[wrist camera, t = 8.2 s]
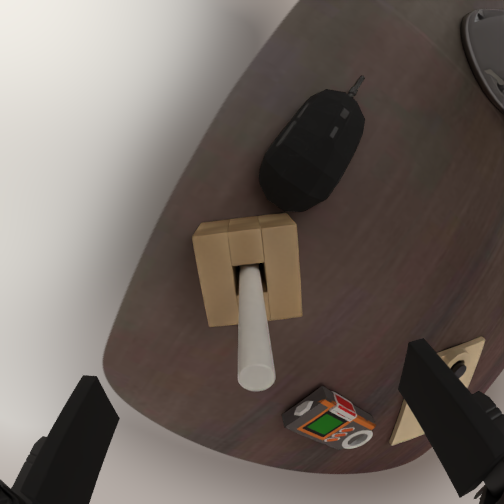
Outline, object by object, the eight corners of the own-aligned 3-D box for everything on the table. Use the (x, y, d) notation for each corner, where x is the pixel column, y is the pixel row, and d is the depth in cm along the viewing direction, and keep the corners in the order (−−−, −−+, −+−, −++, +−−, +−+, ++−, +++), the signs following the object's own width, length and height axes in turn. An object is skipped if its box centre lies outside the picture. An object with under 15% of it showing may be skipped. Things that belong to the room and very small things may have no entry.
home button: (463, 358, 30) (468, 363, 28) (459, 371, 30) (463, 376, 29) (451, 363, 30) (456, 368, 28) (446, 376, 31) (451, 381, 29)
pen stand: (286, 212, 26) (296, 224, 21) (292, 291, 28) (302, 316, 23) (200, 222, 26) (191, 236, 21) (214, 300, 28) (209, 327, 23)
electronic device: (349, 455, 34) (282, 428, 30) (344, 441, 37) (279, 411, 33) (385, 430, 33) (327, 398, 29) (378, 417, 35) (320, 381, 31)
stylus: (256, 248, 27) (274, 362, 11) (258, 265, 27) (276, 389, 12) (238, 250, 27) (234, 366, 11) (241, 267, 27) (240, 393, 12)
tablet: (482, 332, 31) (491, 340, 29) (449, 418, 37) (454, 427, 35) (415, 356, 31) (423, 367, 29) (389, 441, 37) (393, 451, 35)
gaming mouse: (387, 98, 23) (408, 91, 19) (303, 223, 26) (313, 234, 22) (334, 56, 21) (348, 42, 18) (244, 183, 25) (244, 187, 21)
